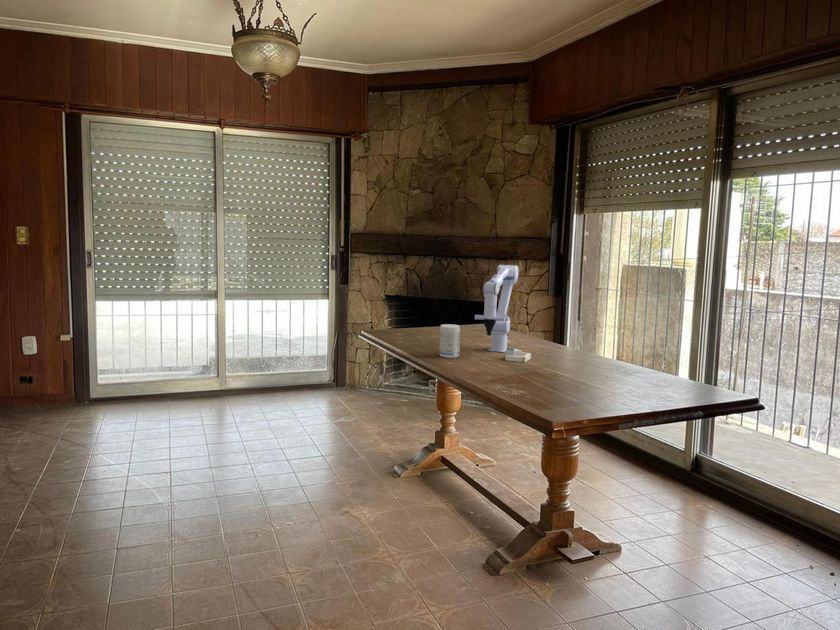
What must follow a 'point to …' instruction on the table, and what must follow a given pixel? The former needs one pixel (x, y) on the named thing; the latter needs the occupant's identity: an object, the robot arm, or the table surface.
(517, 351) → the white box with knobs
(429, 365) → the table surface
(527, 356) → the bay
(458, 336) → the supplement tub
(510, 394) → the table surface
